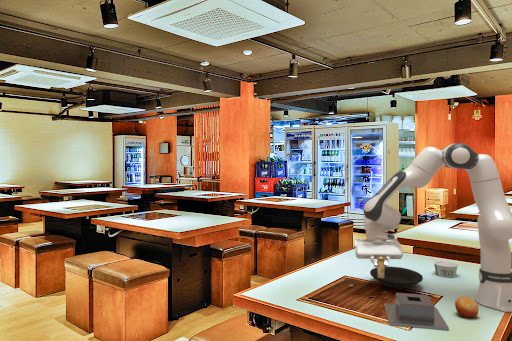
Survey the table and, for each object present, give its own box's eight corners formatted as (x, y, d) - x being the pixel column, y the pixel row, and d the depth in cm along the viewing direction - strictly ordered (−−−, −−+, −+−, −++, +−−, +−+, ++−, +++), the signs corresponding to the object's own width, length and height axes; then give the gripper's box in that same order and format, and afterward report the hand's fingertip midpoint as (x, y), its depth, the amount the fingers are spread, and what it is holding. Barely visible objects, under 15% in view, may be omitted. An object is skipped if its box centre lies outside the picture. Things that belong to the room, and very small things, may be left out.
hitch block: (436, 309, 153) (436, 292, 153) (449, 330, 133) (449, 311, 133) (384, 305, 158) (384, 288, 157) (389, 325, 138) (389, 306, 138)
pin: (385, 276, 166) (385, 255, 166) (386, 278, 162) (385, 257, 162) (376, 275, 167) (375, 255, 167) (376, 278, 163) (376, 257, 163)
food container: (452, 272, 206) (452, 260, 206) (462, 279, 194) (462, 266, 194) (429, 272, 207) (429, 260, 207) (438, 278, 195) (438, 266, 195)
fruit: (467, 306, 153) (473, 293, 148) (477, 323, 146) (484, 309, 142) (447, 306, 152) (453, 293, 148) (457, 323, 146) (463, 310, 141)
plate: (429, 296, 168) (429, 284, 168) (373, 293, 173) (373, 281, 172) (415, 278, 195) (415, 267, 195) (367, 275, 200) (367, 265, 200)
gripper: (354, 235, 172) (357, 262, 163) (400, 235, 170) (406, 263, 160) (352, 243, 177) (356, 269, 167) (397, 243, 174) (403, 270, 165)
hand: (381, 266), depth 164 cm, fingers closed on pin, 3 cm apart
